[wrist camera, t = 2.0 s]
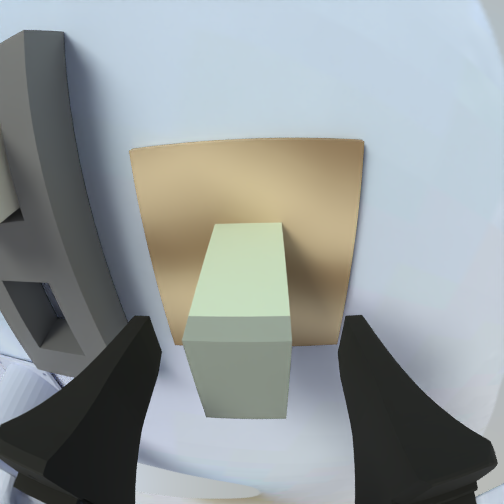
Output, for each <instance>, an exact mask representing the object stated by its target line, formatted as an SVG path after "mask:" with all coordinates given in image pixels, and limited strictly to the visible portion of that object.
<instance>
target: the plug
mask: <svg viewBox="0 0 504 504" xmlns="http://www.w3.org/2000/svg"><path fill="white" fill-rule="evenodd" d="M182 343H183V346H184V349H185V353H186V356H187V360H188V363H189V366H190V369H191V373H192V376H193V379H194V382H195V385H196V388H197V391H198V394H199V397H200V400H201V403H202V406H203V409H204V412H205V415H206V417H211V418H233V419H286V414H287V402H288V390H289V378H290V365H291V350H292V333H291V320H290V308H289V296H288V285H287V273H286V262H285V252H284V242H283V232H282V222H278V223H234V224H215V225H214V229H213V232H212V235H211V239H210V242H209V245H208V249H207V252H206V255H205V259H204V262H203V266H202V269H201V273H200V276H199V280H198V283H197V287H196V290H195V294H194V297H193V301H192V305H191V308H190V312H189V316H188V319H187V323H186V327H185V331H184V334H183V338H182Z"/></svg>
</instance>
